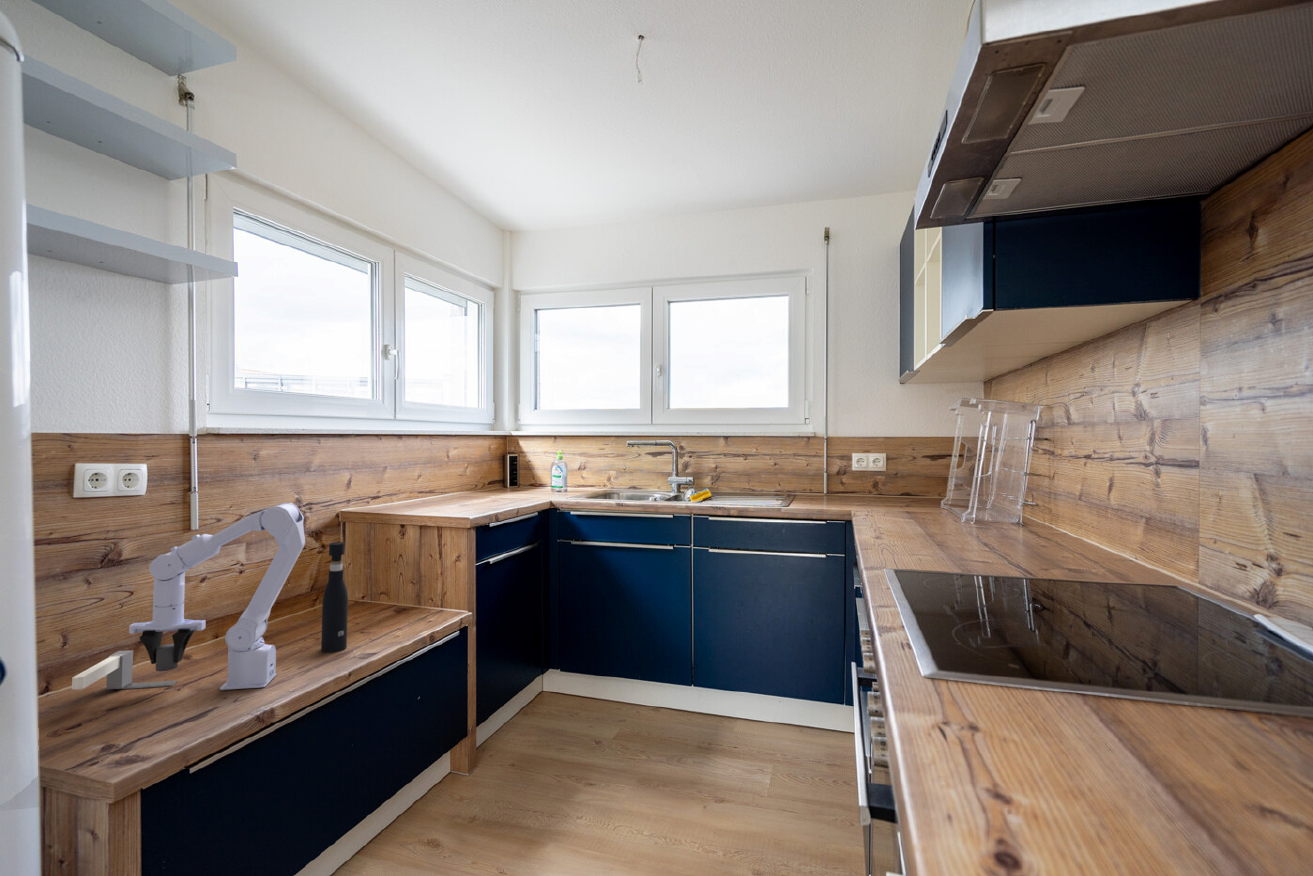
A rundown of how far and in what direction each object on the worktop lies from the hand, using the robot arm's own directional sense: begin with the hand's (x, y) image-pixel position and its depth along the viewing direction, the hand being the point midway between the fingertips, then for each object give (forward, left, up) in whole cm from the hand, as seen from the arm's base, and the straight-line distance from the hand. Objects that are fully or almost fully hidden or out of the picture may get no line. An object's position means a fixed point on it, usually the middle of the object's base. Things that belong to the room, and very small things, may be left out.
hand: (166, 662), depth 140 cm
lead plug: (0, 0, -1) cm, 1 cm away
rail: (+5, -4, -7) cm, 9 cm away
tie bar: (+11, +2, -7) cm, 13 cm away
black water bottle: (-30, -23, -7) cm, 38 cm away
